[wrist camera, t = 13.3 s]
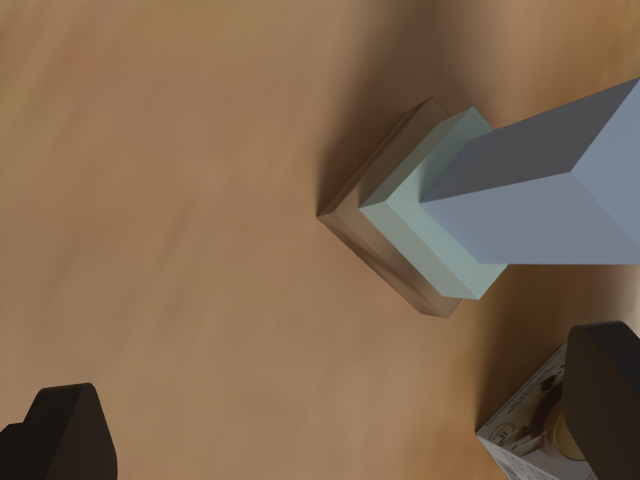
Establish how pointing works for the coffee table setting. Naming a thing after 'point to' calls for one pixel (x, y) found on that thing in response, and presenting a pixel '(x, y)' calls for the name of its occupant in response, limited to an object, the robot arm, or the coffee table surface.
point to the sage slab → (418, 225)
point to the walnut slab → (364, 235)
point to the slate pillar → (550, 186)
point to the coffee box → (536, 430)
